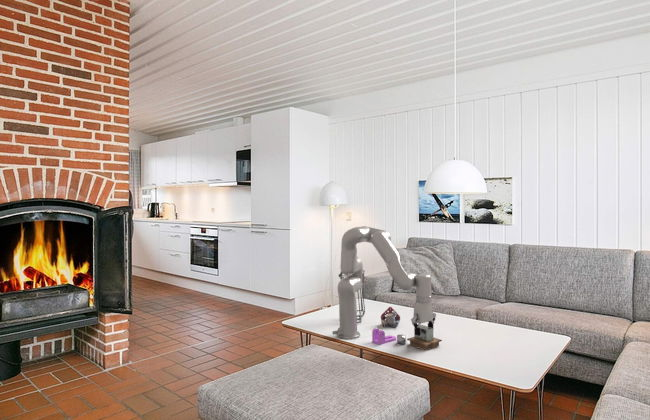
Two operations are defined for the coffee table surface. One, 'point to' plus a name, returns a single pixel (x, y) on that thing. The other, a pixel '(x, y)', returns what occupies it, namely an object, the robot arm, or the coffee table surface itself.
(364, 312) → the geometric lantern
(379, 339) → the bracket
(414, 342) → the stand
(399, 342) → the knob
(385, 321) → the brake caliper
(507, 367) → the coffee table surface
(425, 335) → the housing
